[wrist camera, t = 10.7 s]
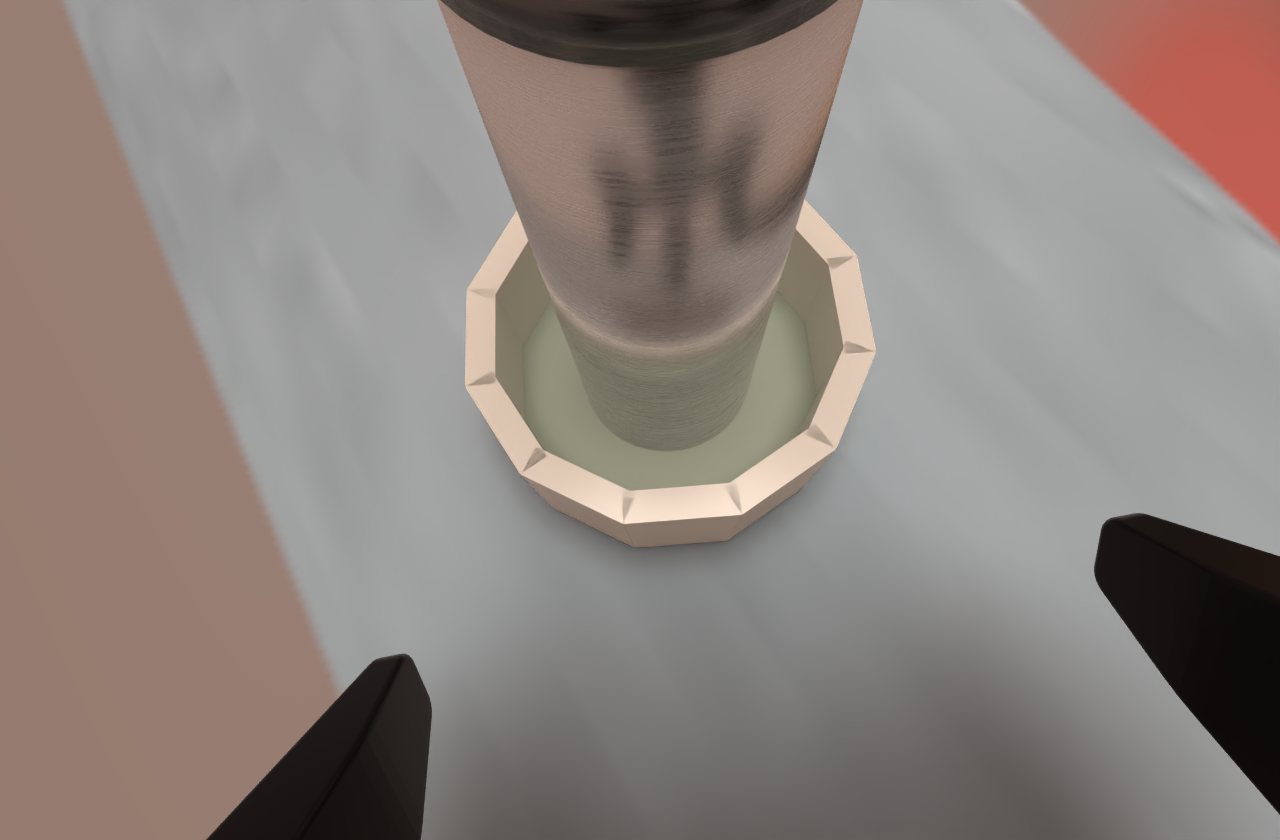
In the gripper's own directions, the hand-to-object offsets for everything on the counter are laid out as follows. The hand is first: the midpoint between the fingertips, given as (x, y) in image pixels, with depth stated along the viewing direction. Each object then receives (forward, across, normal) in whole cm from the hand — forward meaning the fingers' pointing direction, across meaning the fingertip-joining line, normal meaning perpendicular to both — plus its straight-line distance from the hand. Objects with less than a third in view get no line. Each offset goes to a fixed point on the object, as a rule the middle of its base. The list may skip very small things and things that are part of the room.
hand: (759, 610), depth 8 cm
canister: (+10, 0, +1) cm, 10 cm away
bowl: (+11, 0, +1) cm, 11 cm away
